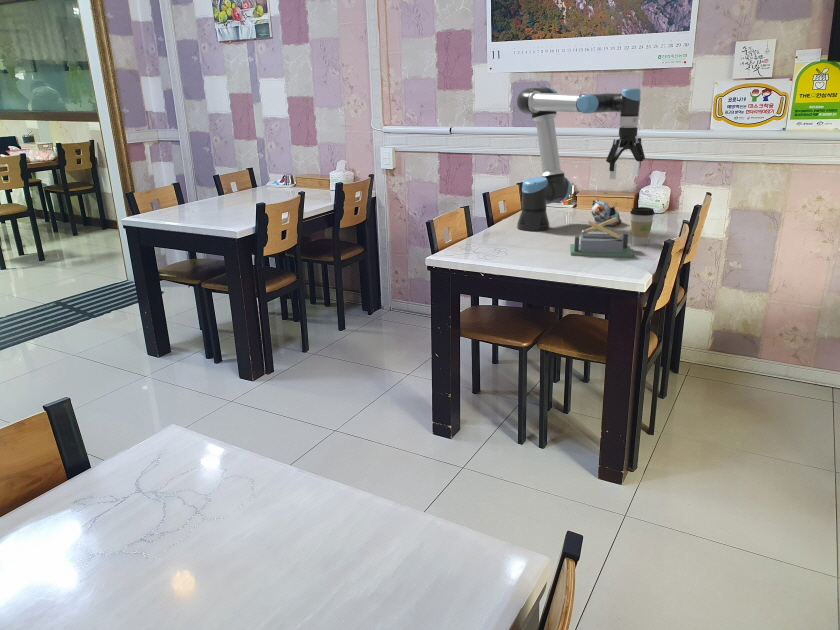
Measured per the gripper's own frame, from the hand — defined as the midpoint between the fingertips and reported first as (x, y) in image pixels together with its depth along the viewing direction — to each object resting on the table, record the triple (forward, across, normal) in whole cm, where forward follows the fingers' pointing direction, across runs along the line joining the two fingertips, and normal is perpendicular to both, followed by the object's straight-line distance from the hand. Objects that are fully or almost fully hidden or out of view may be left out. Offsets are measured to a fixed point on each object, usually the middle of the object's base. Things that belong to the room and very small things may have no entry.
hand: (624, 177), depth 284 cm
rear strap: (+17, -24, -12) cm, 32 cm away
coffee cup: (+26, -3, -14) cm, 30 cm away
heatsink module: (+26, -26, -16) cm, 40 cm away
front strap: (+17, -29, -20) cm, 39 cm away
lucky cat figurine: (+26, +15, +24) cm, 39 cm away
